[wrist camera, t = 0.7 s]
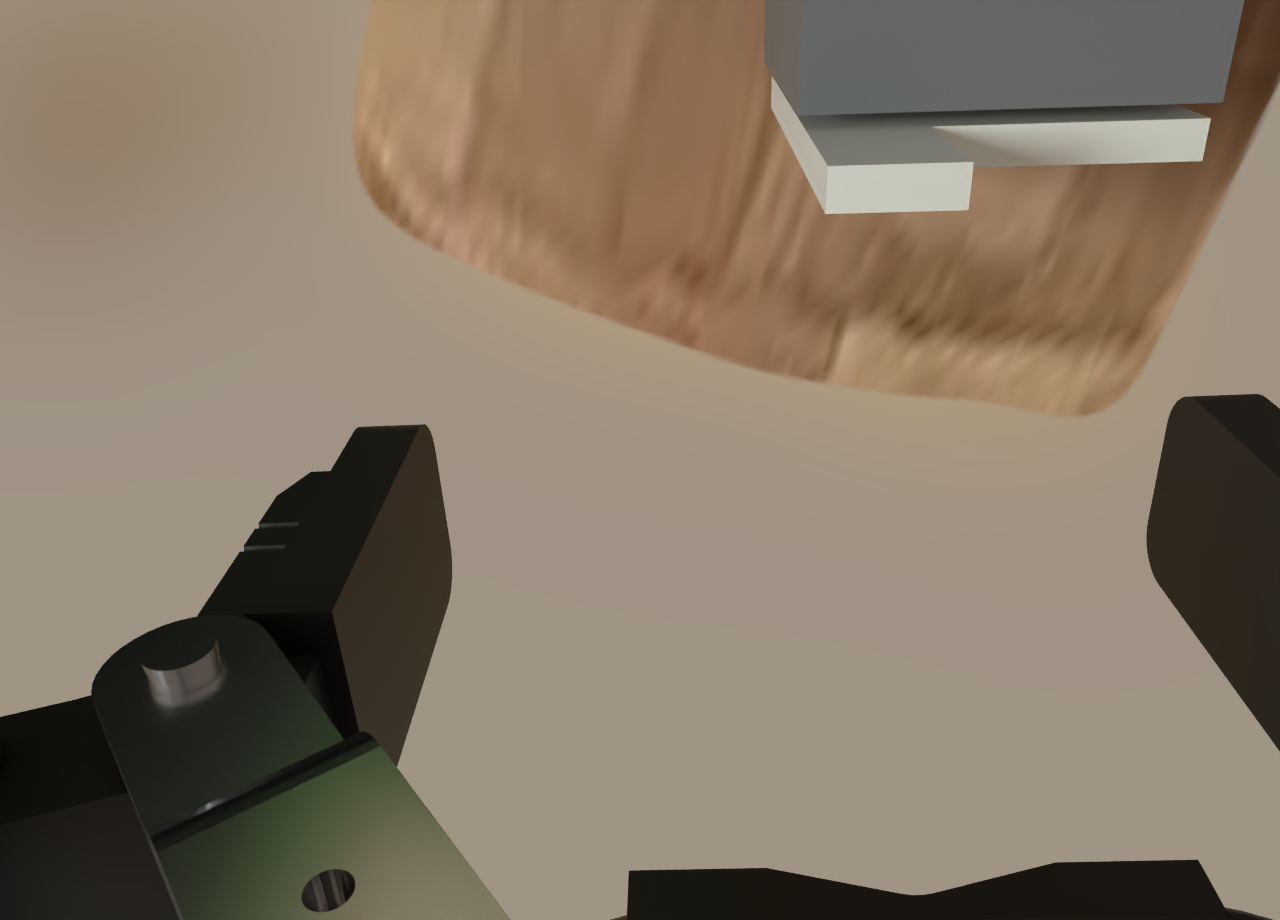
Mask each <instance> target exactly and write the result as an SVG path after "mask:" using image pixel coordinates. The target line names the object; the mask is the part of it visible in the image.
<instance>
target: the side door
mask: <svg viewBox="0 0 1280 920" xmlns="http://www.w3.org/2000/svg"><path fill="white" fill-rule="evenodd" d="M771 109H772V111H773V113H774V114H775V116H776V118H777V120H778V122H779V124H780V126H781V128H782V130H783V132H784V134H785V136H786V138H787V140H788V142H789V144H790V146H791V148H792V150H793V151H794V153H795V155H796V157H797V159H798V161H799V163H800V165H801V167H802V169H803V171H804V173H805V175H806V177H807V179H808V181H809V183H810V185H811V187H812V188H813V190H814V192H815V194H816V196H817V198H818V200H819V202H820V204H821V206H822V208H823V210H824V212H825V214H840V213H877V212H914V211H951V210H968V209H969V200H970V191H971V182H972V173H973V168H975V167H1010V166H1045V165H1081V164H1116V163H1151V162H1186V161H1202V160H1203V155H1204V150H1205V145H1206V140H1207V136H1208V131H1209V126H1210V121H1211V118H1209V117H1206V116H1204V115H1201V114H1199V113H1196V112H1193V111H1191V110H1188V109H1186V108H1183V107H1180V106H1178V105H1175V104H1165V105H1132V106H1099V107H1066V108H1033V109H1000V110H967V111H934V112H901V113H868V114H835V115H802V116H798V115H797V113H796V112H795V110H794V108H793V107H792V105H791V104H790V102H789V100H788V99H787V97H786V96H785V94H784V92H783V91H782V89H781V88H780V86H779V84H778V83H777V81H776V80H775V78H774V76H772V93H771Z"/></svg>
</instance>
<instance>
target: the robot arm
mask: <svg viewBox="0 0 1280 920" xmlns="http://www.w3.org/2000/svg"><path fill="white" fill-rule="evenodd" d="M1147 552H1148V558H1149V562H1150V566H1151V569H1152V572H1153V575H1154V577H1155V579H1156V581H1157V582H1158V584H1159V585H1160V587H1161V588H1162V590H1163V591H1164V592H1165V594H1166V595H1167V597H1168V598H1169V599H1170V601H1171V602H1172V603H1173V605H1174V606H1175V608H1176V609H1177V610H1178V612H1179V613H1180V614H1181V616H1182V617H1183V618H1184V620H1185V621H1186V623H1187V624H1188V625H1189V627H1190V628H1191V629H1192V631H1193V632H1194V634H1195V635H1196V636H1197V638H1198V639H1199V640H1200V642H1201V643H1202V645H1203V646H1204V648H1205V649H1206V650H1207V652H1208V653H1209V654H1210V655H1211V657H1212V659H1213V660H1214V661H1215V663H1216V664H1217V665H1218V667H1219V668H1220V670H1221V671H1222V672H1223V674H1224V675H1225V676H1226V678H1227V679H1228V681H1229V682H1230V683H1231V685H1232V686H1233V687H1234V689H1235V690H1236V692H1237V693H1238V694H1239V696H1240V697H1241V698H1242V700H1243V701H1244V703H1245V704H1246V705H1247V707H1248V708H1249V709H1250V711H1251V712H1252V714H1253V715H1254V716H1255V718H1256V719H1257V721H1258V722H1259V723H1260V725H1261V726H1262V727H1263V729H1264V730H1265V732H1266V733H1267V734H1268V736H1269V737H1270V738H1271V740H1272V741H1273V743H1274V744H1275V745H1276V747H1277V748H1278V750H1279V751H1280V409H1279V408H1278V407H1277V406H1276V405H1274V404H1273V403H1272V402H1271V401H1270V400H1268V399H1267V398H1266V397H1264V396H1262V395H1259V394H1247V395H1219V396H1193V397H1183V398H1181V399H1180V400H1178V401H1177V402H1176V404H1175V405H1174V407H1173V409H1172V410H1171V413H1170V416H1169V419H1168V423H1167V427H1166V433H1165V438H1164V443H1163V448H1162V453H1161V459H1160V463H1159V468H1158V473H1157V479H1156V484H1155V489H1154V494H1153V499H1152V504H1151V509H1150V514H1149V520H1148V526H1147ZM451 583H452V557H451V546H450V540H449V534H448V527H447V521H446V515H445V508H444V502H443V496H442V490H441V484H440V477H439V471H438V464H437V458H436V452H435V447H434V442H433V438H432V435H431V432H430V430H429V428H428V427H427V426H426V425H425V424H424V425H400V426H399V425H398V426H373V427H358V428H357V429H356V430H355V431H354V432H353V434H352V436H351V437H350V439H349V441H348V443H347V444H346V446H345V448H344V449H343V451H342V453H341V454H340V456H339V458H338V459H337V461H336V463H335V464H334V466H333V468H332V469H331V471H322V472H310V473H309V474H307V475H306V476H305V477H303V478H302V479H300V480H299V481H298V482H296V483H295V484H293V485H292V486H290V487H289V488H288V489H286V490H285V491H284V492H282V493H280V494H279V495H278V496H277V497H276V498H275V500H274V501H273V503H272V504H271V506H270V507H269V509H268V510H267V512H266V513H265V515H264V516H263V518H262V519H261V521H260V522H259V529H255V530H254V531H253V533H252V534H251V536H250V537H249V539H248V540H247V542H246V543H245V545H244V552H239V554H238V555H237V557H236V558H235V560H234V562H233V563H232V564H231V566H230V567H229V569H228V570H227V572H226V574H225V575H224V577H223V578H222V580H221V581H220V583H219V584H218V585H217V587H216V589H215V590H214V592H213V593H212V595H211V596H210V598H209V599H208V601H207V602H206V604H205V605H204V607H203V608H202V610H201V611H200V613H199V614H198V616H197V617H192V618H188V619H183V620H179V621H175V622H172V623H170V624H166V625H163V626H161V627H158V628H156V629H154V630H151V631H149V632H147V633H145V634H143V635H141V636H139V637H137V638H136V639H134V640H132V641H131V642H129V643H127V644H126V645H125V646H123V647H122V648H120V649H119V650H118V651H117V652H115V653H114V654H113V655H112V656H111V657H110V658H109V659H108V660H107V661H106V662H105V663H104V664H103V665H102V667H101V668H100V670H99V671H98V673H97V674H96V676H95V678H94V681H93V683H92V690H91V696H87V697H83V698H79V699H76V700H72V701H67V702H63V703H59V704H54V705H50V706H46V707H41V708H37V709H33V710H29V711H24V712H20V713H16V714H11V715H7V716H3V717H0V920H510V918H509V917H508V916H507V914H506V913H505V912H504V910H503V909H502V908H501V906H500V905H499V904H498V902H497V901H496V900H495V898H494V897H493V896H492V894H491V893H490V892H489V890H488V889H487V888H486V886H485V885H484V884H483V882H482V881H481V880H480V878H479V877H478V876H477V874H476V873H475V871H474V870H473V869H472V868H471V866H470V865H469V863H468V862H467V861H466V860H465V858H464V857H463V855H462V854H461V853H460V852H459V850H458V849H457V848H456V846H455V845H454V843H453V842H452V841H451V839H450V838H449V837H448V835H447V834H446V833H445V831H444V830H443V829H442V827H441V826H440V825H439V823H438V822H437V821H436V819H435V818H434V817H433V815H432V814H431V813H430V811H429V810H428V809H427V807H426V806H425V805H424V803H423V802H422V801H421V799H420V798H419V797H418V795H417V794H416V793H415V791H414V790H413V789H412V787H411V786H410V784H409V783H408V782H407V780H406V779H405V778H404V776H403V775H402V774H401V772H400V771H399V770H398V769H397V765H398V762H399V758H400V755H401V752H402V749H403V746H404V743H405V739H406V736H407V733H408V730H409V727H410V723H411V720H412V717H413V714H414V711H415V707H416V704H417V701H418V698H419V695H420V692H421V689H422V685H423V682H424V679H425V676H426V672H427V670H428V666H429V663H430V660H431V657H432V654H433V650H434V647H435V644H436V641H437V638H438V635H439V631H440V628H441V625H442V622H443V619H444V615H445V612H446V609H447V606H448V603H449V598H450V593H451ZM611 920H1272V919H1269V918H1265V917H1262V916H1258V915H1254V914H1251V913H1247V912H1244V911H1239V910H1234V909H1230V908H1225V907H1224V906H1223V904H1222V902H1221V900H1220V899H1219V897H1218V895H1217V893H1216V891H1215V889H1214V888H1213V886H1212V884H1211V882H1210V881H1209V879H1208V877H1207V875H1206V873H1205V871H1204V870H1203V868H1202V866H1201V864H1200V863H1199V861H1198V860H1171V861H1170V860H1167V861H1166V860H1165V861H1112V862H1064V863H1063V862H1059V863H1052V864H1048V865H1044V866H1040V867H1036V868H1032V869H1028V870H1024V871H1020V872H1016V873H1012V874H1008V875H1005V876H1000V877H996V878H992V879H989V880H984V881H981V882H977V883H973V884H969V885H965V886H961V887H957V888H953V889H949V890H945V891H941V892H937V893H933V894H927V895H905V894H899V893H894V892H889V891H883V890H878V889H873V888H867V887H862V886H857V885H851V884H847V883H841V882H836V881H831V880H826V879H821V878H815V877H810V876H805V875H800V874H795V873H789V872H784V871H778V870H774V869H768V868H750V869H749V868H745V869H695V870H694V869H692V870H640V871H629V881H628V906H627V915H626V916H622V917H619V918H615V919H611Z"/></svg>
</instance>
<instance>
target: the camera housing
mask: <svg viewBox="0 0 1280 920" xmlns="http://www.w3.org/2000/svg"><path fill="white" fill-rule="evenodd" d="M1243 5H1244V0H766V17H765V64H766V65H767V67H768V68H769V70H770V72H771V73H772V75H773V76H774V78H775V80H776V81H777V83H778V84H779V86H780V88H781V89H782V91H783V92H784V94H785V96H786V97H787V99H788V100H789V102H790V104H791V105H792V107H793V108H794V110H795V112H796V113H797V115H798V116H802V115H835V114H868V113H901V112H934V111H967V110H1000V109H1033V108H1066V107H1099V106H1132V105H1165V104H1198V103H1223V100H1224V95H1225V90H1226V86H1227V81H1228V76H1229V71H1230V67H1231V62H1232V57H1233V52H1234V48H1235V43H1236V38H1237V33H1238V29H1239V24H1240V19H1241V15H1242V10H1243Z"/></svg>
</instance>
